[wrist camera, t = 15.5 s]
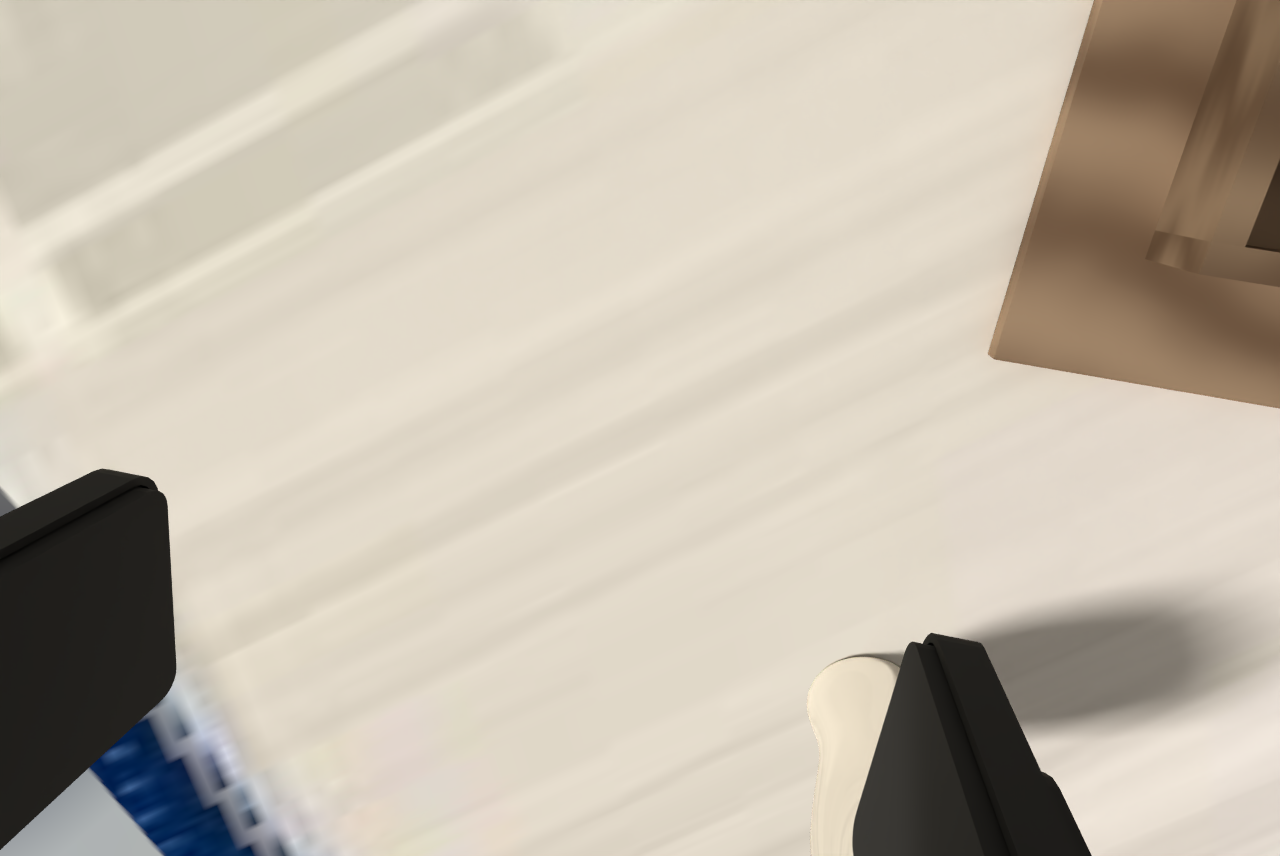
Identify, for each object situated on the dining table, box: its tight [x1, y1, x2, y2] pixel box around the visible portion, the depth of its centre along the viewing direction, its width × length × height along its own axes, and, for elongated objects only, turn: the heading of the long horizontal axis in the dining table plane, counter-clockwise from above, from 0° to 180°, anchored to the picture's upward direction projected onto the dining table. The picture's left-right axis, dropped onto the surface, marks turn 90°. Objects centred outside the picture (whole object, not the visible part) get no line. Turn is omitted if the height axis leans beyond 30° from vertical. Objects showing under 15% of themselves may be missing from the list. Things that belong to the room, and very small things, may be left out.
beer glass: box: [807, 657, 900, 856], centre depth 38 cm, size 7×7×15 cm
